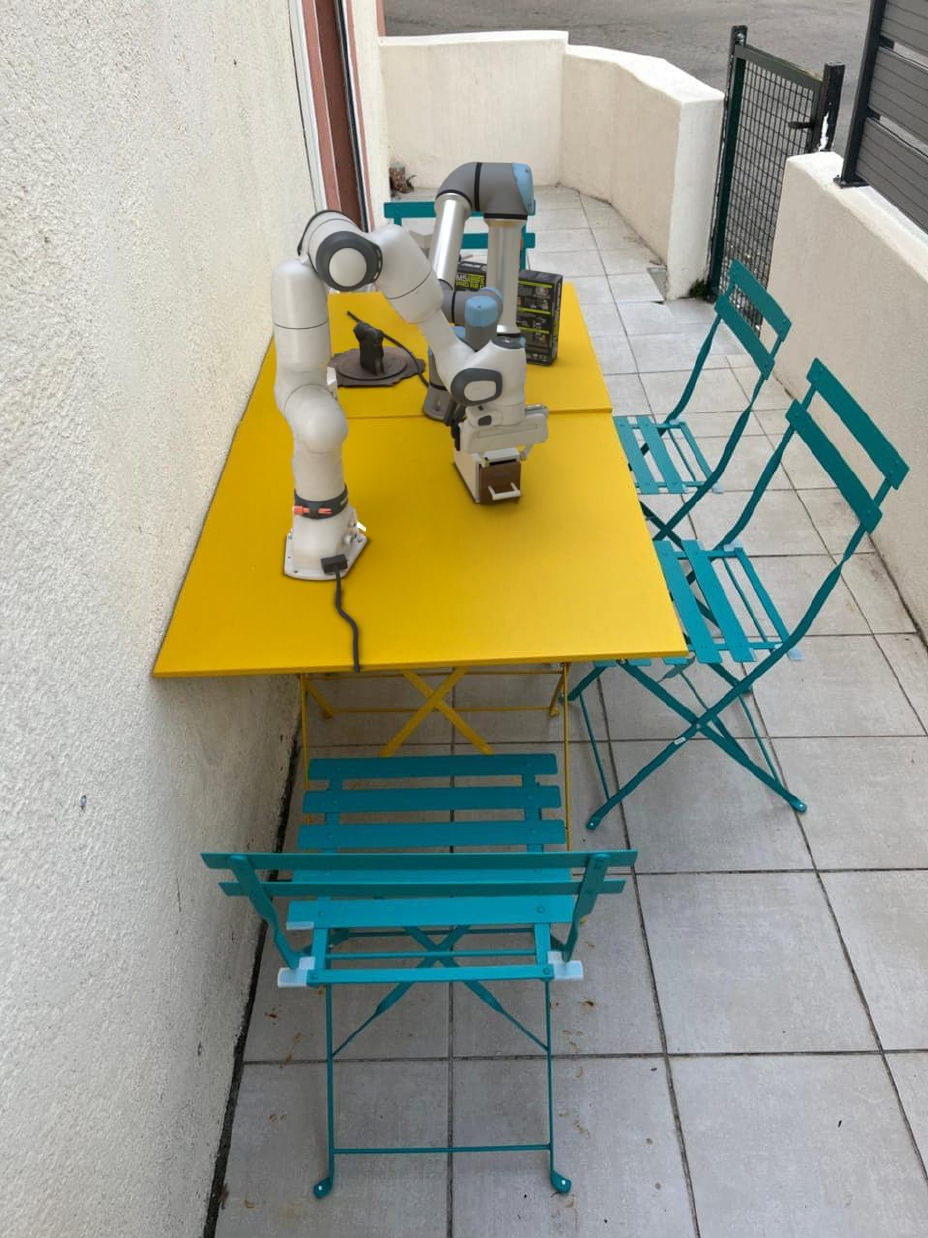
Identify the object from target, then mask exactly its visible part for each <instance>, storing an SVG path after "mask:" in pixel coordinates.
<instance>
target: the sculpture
mask: <svg viewBox="0 0 928 1238" xmlns="http://www.w3.org/2000/svg"><path fill="white" fill-rule="evenodd" d="M352 332H353V335H354V337H355V338H356V340H357V342H358V347H357V348H350V349H349V350H345V351H343V352H335V353H333V355H332V357H331V359H330V361H329V362H328V367H330V368H334V369H335V372H336V379H337V387H339V386H340V385H342V386H344V387H346V386H355V385H358V386H359V385H360V386H362V385H363V386H371V385H372V386H376V385H378V386H379V385H388V386H391V385H392V386H394V387H396V386H395V385H394V384H395V383H399V382H400V380H401V379H403V378H407V377H411V376H412V375H414V374H416V373H417V374H418V369H417V366H416V364H415V362H414V361H413V359H412V357H411V356H410V355H409V353H407V352H406V351H405V350H404V349H403V348H401V347H396V346H389V345H387V346H386V345H383V342H384V333H385V332H384V331H383V330H382V329H381V328H376V327H374V326H373V325H371V324H369V323H368V322H366V321H363V320H361V321H359V322H358V321H357V324H355V326H353V329H352ZM407 350H408V351H409V352H410V353H411V354H412V355H413V356H414V358H415V359H416V361H417V363H418V365H419V368H420V371H421V372H422V371H424V370H426V362H425V360H424V359H423V358H417V357H416V356H415V355H414V352H413V351H412V350H409V349H407ZM327 373H328V371H327ZM393 383H394V384H393Z"/></svg>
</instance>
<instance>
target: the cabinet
mask: <svg viewBox="0 0 928 1238" xmlns="http://www.w3.org/2000/svg"><path fill="white" fill-rule="evenodd" d="M463 423H464V422H460V423H459V424H458V425H459V427H460V451H457V450H456V448H455V446H454V445H453V459H454V460H453V465H454V467H455V469H456V470H457V472H458V474H459V476H460V478H461V479H462V481H463V483H464V485H465V487H466V489H467V491H468V493H469V494H470V496H471V499H472V501H473V502H474V504H477V503H479V464H481V458H480V457H479V455H478V453H473V454H467V453H466V452H465V451H464V449H463V448H462V445H461V435H462V427H463ZM519 452H520V451H519V450H518V448H517V447H512V448H506V449H499V450H493V451H486V452H485V455H483V457H487V458H488V459H489V462H496V461H503V460H509V459H514V462H519V461H520V462H521V460H520V458H519V456H520V455H519Z"/></svg>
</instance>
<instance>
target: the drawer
mask: <svg viewBox="0 0 928 1238" xmlns="http://www.w3.org/2000/svg"><path fill="white" fill-rule="evenodd" d="M521 478H522V463H521V460H520V461H519V462H514V459H509V460H503V461H496V462H489V467H482V465H481V464H479V502H478V503H479V505H480V506H482V505H488V504H494V503H501V502H506V501H513V500H518V499H521V494H522V492H521Z"/></svg>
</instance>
